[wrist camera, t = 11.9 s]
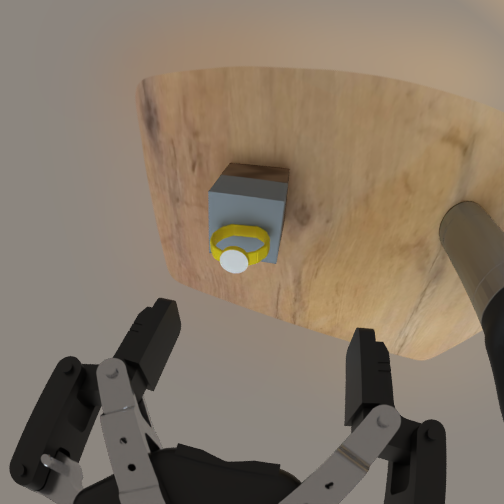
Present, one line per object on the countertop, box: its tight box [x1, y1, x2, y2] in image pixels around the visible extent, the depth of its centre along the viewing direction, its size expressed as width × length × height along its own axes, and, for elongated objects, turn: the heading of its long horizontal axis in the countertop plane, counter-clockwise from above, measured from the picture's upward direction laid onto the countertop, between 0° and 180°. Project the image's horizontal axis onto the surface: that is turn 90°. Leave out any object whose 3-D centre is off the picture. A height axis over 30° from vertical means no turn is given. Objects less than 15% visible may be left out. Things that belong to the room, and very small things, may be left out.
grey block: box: [209, 175, 288, 264], centre depth 34 cm, size 8×8×5 cm
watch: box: [210, 224, 270, 273], centre depth 30 cm, size 6×3×6 cm, turn 90°
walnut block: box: [220, 163, 290, 237], centre depth 38 cm, size 8×8×5 cm
